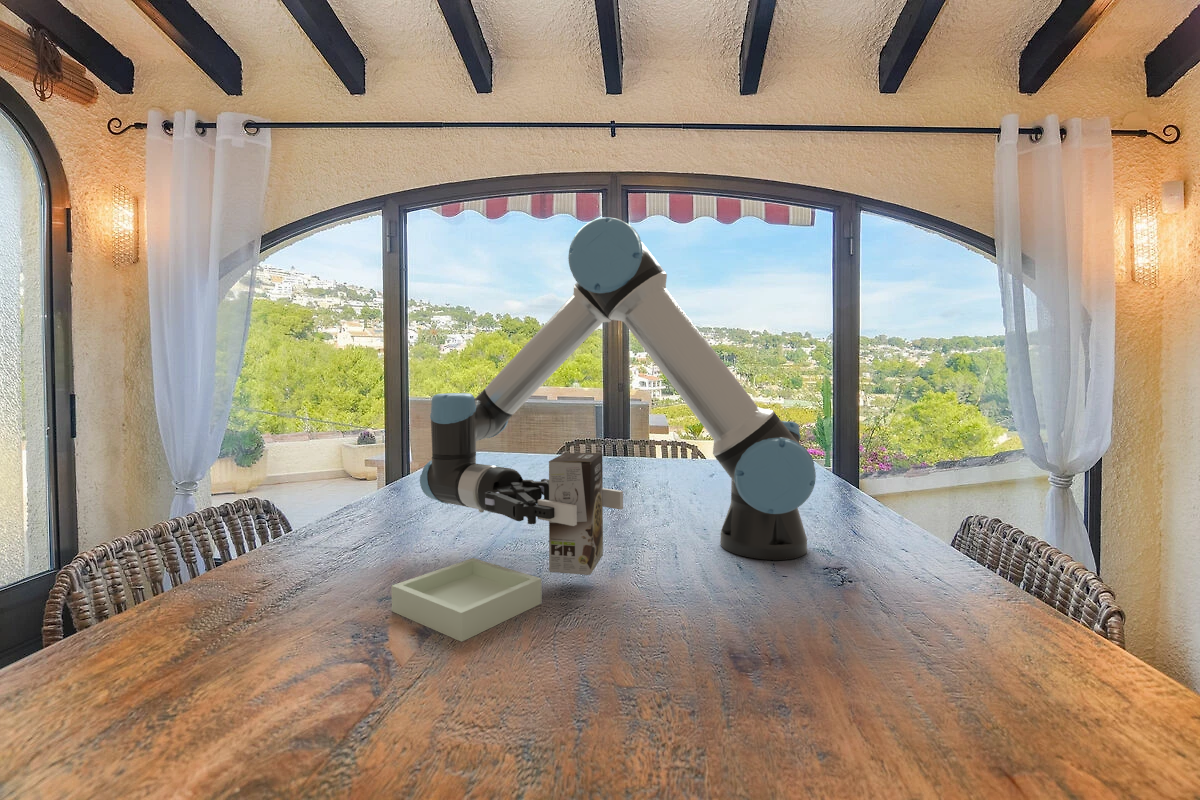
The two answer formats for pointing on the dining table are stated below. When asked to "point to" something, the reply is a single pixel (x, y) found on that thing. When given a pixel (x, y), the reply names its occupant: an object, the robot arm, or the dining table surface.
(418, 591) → the tray
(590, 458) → the coffee box
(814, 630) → the dining table surface
